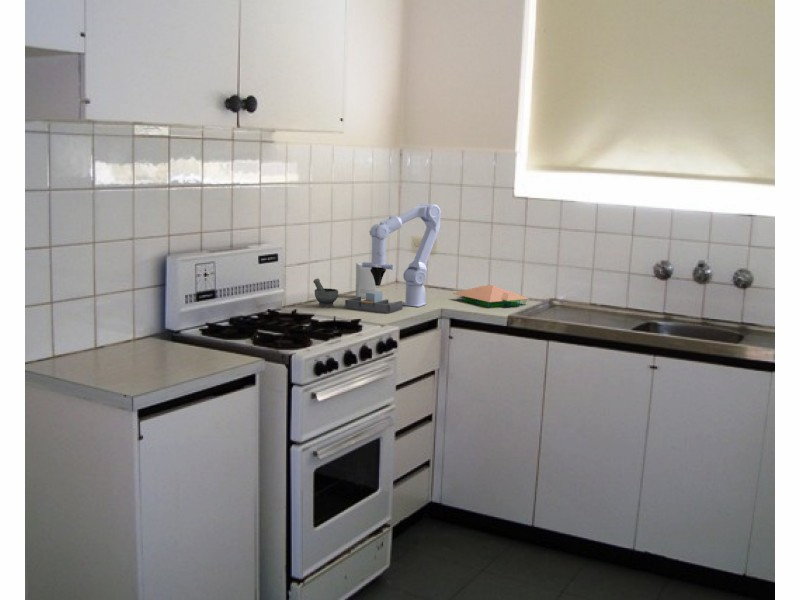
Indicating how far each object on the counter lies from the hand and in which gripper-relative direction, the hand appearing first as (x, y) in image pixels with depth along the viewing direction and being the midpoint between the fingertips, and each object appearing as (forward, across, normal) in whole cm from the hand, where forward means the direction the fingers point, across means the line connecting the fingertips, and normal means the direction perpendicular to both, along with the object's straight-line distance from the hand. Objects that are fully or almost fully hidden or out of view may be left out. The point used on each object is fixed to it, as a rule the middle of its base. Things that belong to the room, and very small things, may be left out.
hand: (377, 285), depth 354 cm
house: (+10, +34, +43) cm, 56 cm away
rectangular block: (+8, 0, -4) cm, 9 cm away
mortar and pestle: (+9, -19, -11) cm, 24 cm away
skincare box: (+10, -17, +21) cm, 28 cm away
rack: (+9, 0, -4) cm, 10 cm away
